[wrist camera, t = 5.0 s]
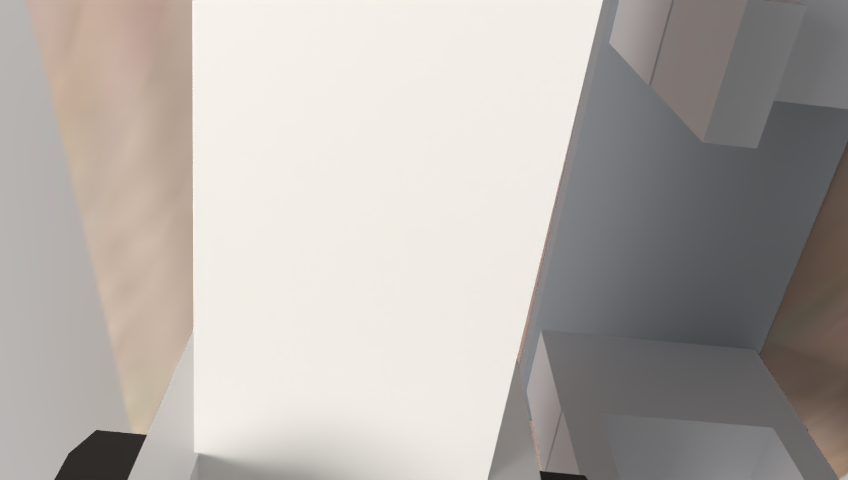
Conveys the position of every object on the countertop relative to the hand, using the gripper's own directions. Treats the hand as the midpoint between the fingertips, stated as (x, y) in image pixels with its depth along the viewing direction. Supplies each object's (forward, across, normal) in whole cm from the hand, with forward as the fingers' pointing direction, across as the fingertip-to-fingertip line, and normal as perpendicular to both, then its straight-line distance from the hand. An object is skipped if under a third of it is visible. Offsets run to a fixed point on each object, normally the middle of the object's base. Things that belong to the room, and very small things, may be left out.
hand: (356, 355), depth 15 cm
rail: (+1, 0, 0) cm, 1 cm away
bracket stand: (+13, +11, -1) cm, 17 cm away
